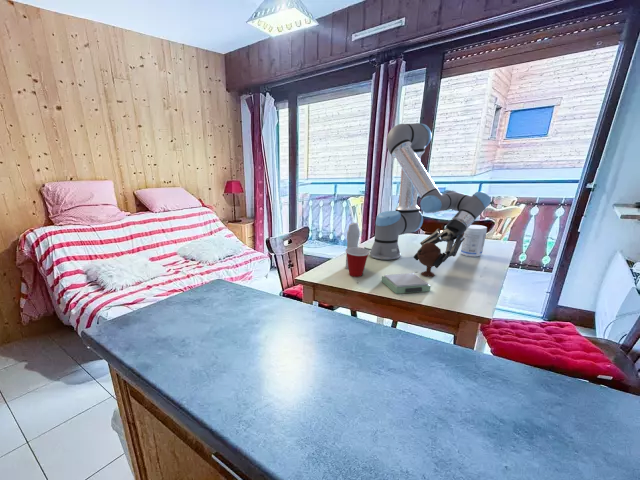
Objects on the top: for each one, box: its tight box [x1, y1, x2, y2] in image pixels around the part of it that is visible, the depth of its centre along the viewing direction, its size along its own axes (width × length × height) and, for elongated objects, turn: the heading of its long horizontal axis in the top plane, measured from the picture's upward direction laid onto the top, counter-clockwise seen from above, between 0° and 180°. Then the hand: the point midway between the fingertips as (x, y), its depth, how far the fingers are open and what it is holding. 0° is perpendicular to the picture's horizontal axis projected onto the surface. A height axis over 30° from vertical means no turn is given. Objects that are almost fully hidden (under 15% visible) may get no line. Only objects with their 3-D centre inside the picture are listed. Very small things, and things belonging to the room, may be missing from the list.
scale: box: [381, 272, 431, 295], centre depth 136 cm, size 15×14×3 cm
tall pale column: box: [345, 222, 361, 270], centre depth 161 cm, size 11×4×22 cm, turn 134°
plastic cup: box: [344, 246, 371, 278], centre depth 150 cm, size 11×11×12 cm
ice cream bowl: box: [416, 243, 443, 278], centre depth 145 cm, size 11×11×15 cm
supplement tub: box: [460, 224, 488, 258], centre depth 168 cm, size 10×10×15 cm
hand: (424, 262), depth 145 cm, fingers closed on ice cream bowl, 11 cm apart
